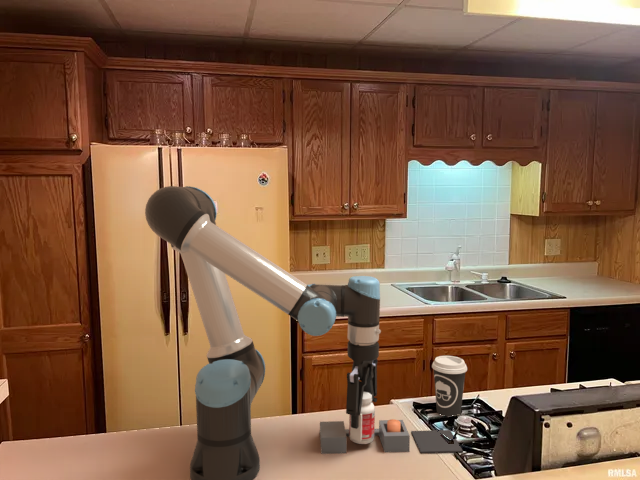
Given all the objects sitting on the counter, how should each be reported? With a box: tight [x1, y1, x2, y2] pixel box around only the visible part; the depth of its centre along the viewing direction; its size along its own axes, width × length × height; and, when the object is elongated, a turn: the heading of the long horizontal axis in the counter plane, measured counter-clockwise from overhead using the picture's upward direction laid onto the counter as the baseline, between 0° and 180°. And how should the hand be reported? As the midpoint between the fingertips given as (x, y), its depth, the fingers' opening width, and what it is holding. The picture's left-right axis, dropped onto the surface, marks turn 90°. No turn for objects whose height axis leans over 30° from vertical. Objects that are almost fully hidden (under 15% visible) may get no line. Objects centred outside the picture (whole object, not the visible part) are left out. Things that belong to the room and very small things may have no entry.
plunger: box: [387, 418, 401, 432], centre depth 117 cm, size 3×3×5 cm
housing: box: [319, 419, 411, 455], centre depth 118 cm, size 21×10×4 cm, turn 92°
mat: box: [410, 429, 464, 455], centre depth 118 cm, size 10×10×1 cm
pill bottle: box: [348, 392, 376, 445], centre depth 117 cm, size 6×6×11 cm
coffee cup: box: [431, 355, 468, 416], centre depth 134 cm, size 10×10×15 cm
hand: (361, 432), depth 117 cm, fingers closed on pill bottle, 6 cm apart
